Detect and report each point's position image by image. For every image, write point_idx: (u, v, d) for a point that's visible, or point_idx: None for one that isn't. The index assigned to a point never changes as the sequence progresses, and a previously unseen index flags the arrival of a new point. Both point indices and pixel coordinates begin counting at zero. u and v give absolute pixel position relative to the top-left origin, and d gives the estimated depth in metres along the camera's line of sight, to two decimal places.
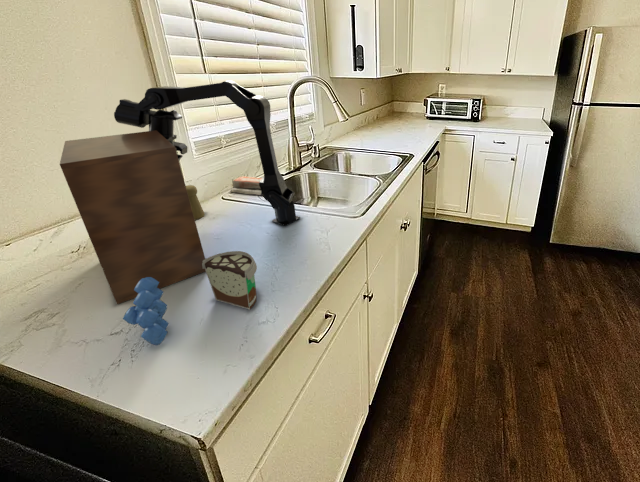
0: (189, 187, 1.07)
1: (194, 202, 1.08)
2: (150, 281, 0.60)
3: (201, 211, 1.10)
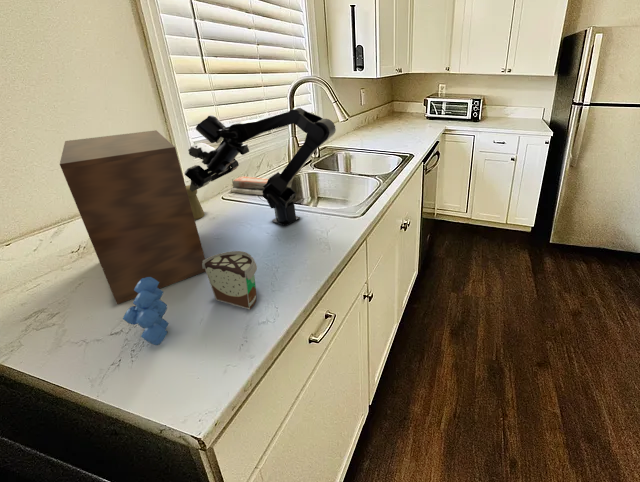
0: (189, 187, 1.07)
1: (194, 202, 1.08)
2: (150, 281, 0.60)
3: (201, 211, 1.10)
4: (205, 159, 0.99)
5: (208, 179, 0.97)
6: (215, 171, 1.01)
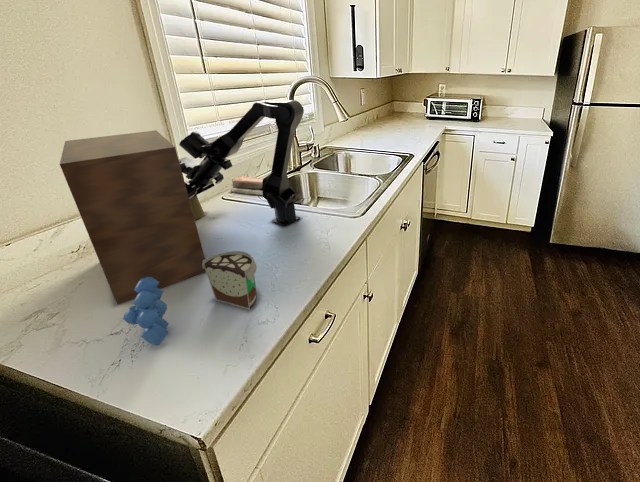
0: None
1: (194, 202, 1.08)
2: (150, 281, 0.60)
3: (201, 211, 1.10)
4: (189, 174, 1.02)
5: (191, 194, 1.00)
6: (199, 185, 1.04)
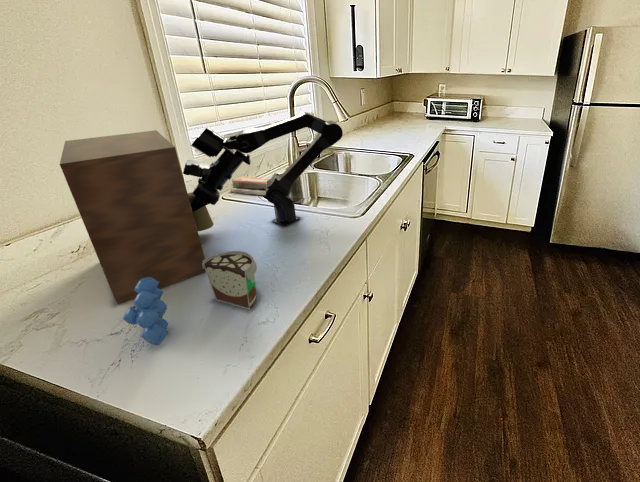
0: None
1: (205, 209, 0.96)
2: (150, 281, 0.60)
3: None
4: (205, 176, 0.92)
5: (218, 195, 0.91)
6: (217, 187, 0.94)
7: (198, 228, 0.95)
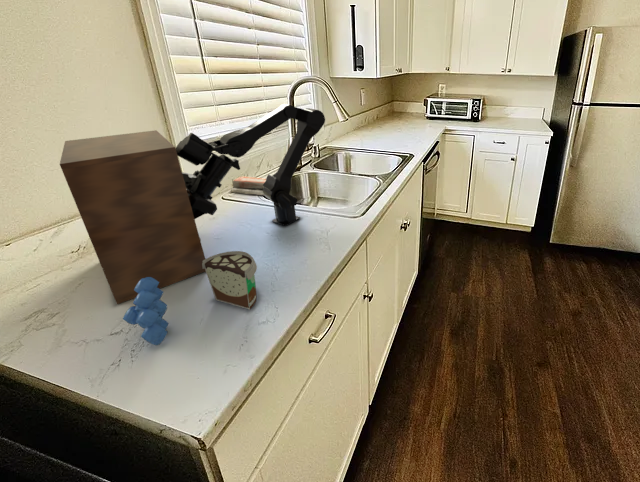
0: None
1: None
2: (150, 281, 0.60)
3: None
4: (194, 186, 0.84)
5: None
6: (206, 197, 0.87)
7: None
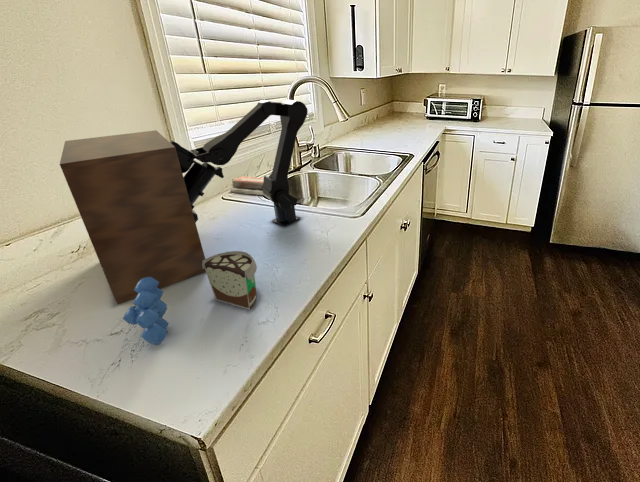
0: None
1: None
2: (150, 281, 0.60)
3: None
4: None
5: None
6: None
7: None
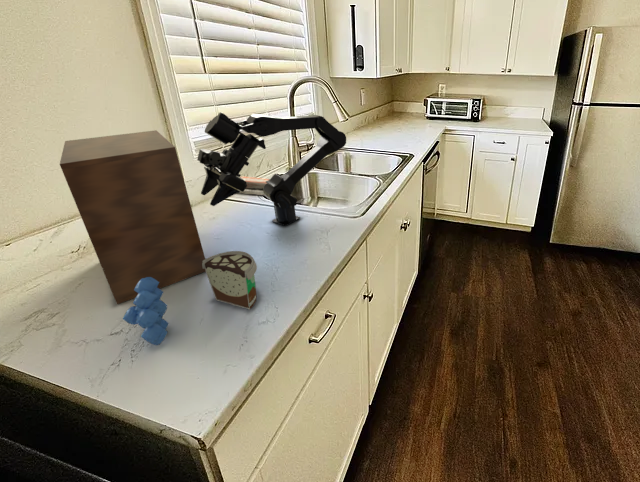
0: None
1: None
2: (150, 281, 0.60)
3: None
4: (225, 164, 0.88)
5: None
6: (235, 175, 0.91)
7: None
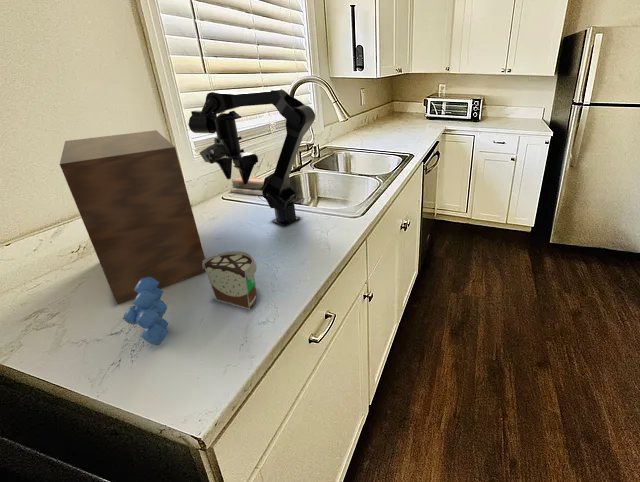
0: None
1: None
2: (150, 281, 0.60)
3: None
4: (227, 151, 0.98)
5: None
6: (240, 152, 1.02)
7: None
